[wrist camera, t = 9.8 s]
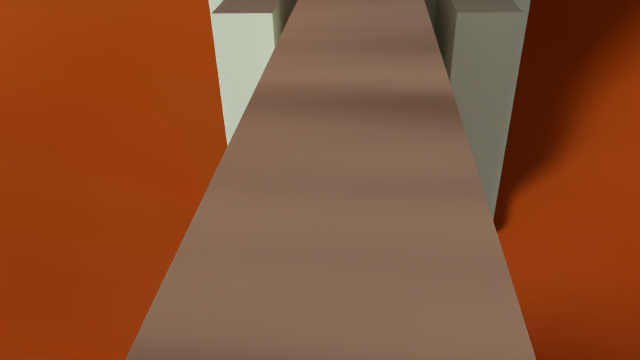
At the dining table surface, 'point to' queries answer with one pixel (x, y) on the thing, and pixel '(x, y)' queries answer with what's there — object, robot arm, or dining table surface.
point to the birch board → (343, 211)
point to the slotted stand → (456, 50)
